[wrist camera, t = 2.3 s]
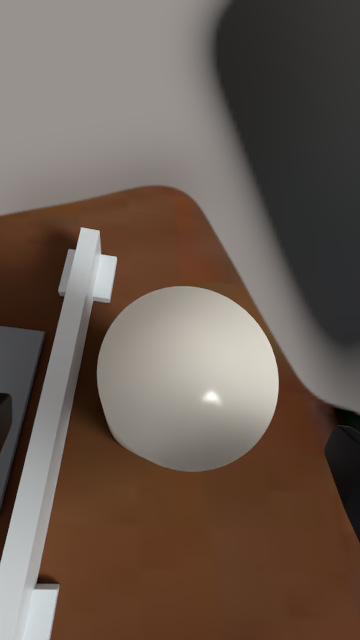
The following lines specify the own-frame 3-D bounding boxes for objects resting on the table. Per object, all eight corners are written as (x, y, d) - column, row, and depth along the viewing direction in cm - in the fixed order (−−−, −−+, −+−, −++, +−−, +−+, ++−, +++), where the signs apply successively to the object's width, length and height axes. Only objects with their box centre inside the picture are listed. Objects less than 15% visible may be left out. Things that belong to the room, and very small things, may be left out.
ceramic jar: (191, 459, 17) (283, 478, 8) (98, 452, 16) (78, 464, 7) (196, 369, 19) (274, 299, 10) (113, 359, 18) (113, 273, 9)
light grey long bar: (43, 675, 13) (24, 737, 10) (-36, 677, 12) (-79, 744, 10) (116, 262, 20) (117, 234, 18) (69, 254, 20) (62, 224, 17)
